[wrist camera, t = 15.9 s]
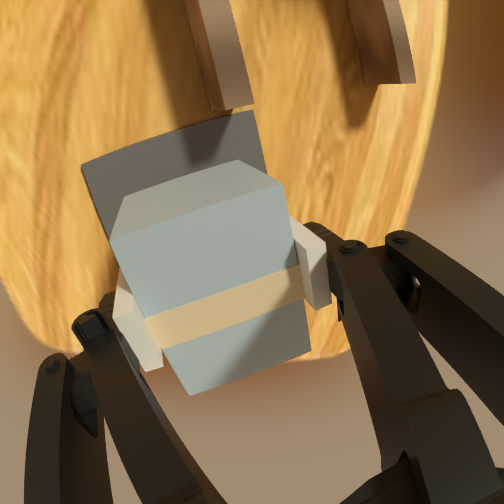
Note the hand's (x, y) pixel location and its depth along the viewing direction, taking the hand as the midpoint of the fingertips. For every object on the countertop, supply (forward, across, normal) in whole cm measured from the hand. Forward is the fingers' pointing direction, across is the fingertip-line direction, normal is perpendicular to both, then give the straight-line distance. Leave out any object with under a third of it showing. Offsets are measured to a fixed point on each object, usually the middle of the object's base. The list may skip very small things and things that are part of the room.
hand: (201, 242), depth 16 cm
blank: (+1, 0, 0) cm, 1 cm away
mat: (+4, 0, 0) cm, 4 cm away
